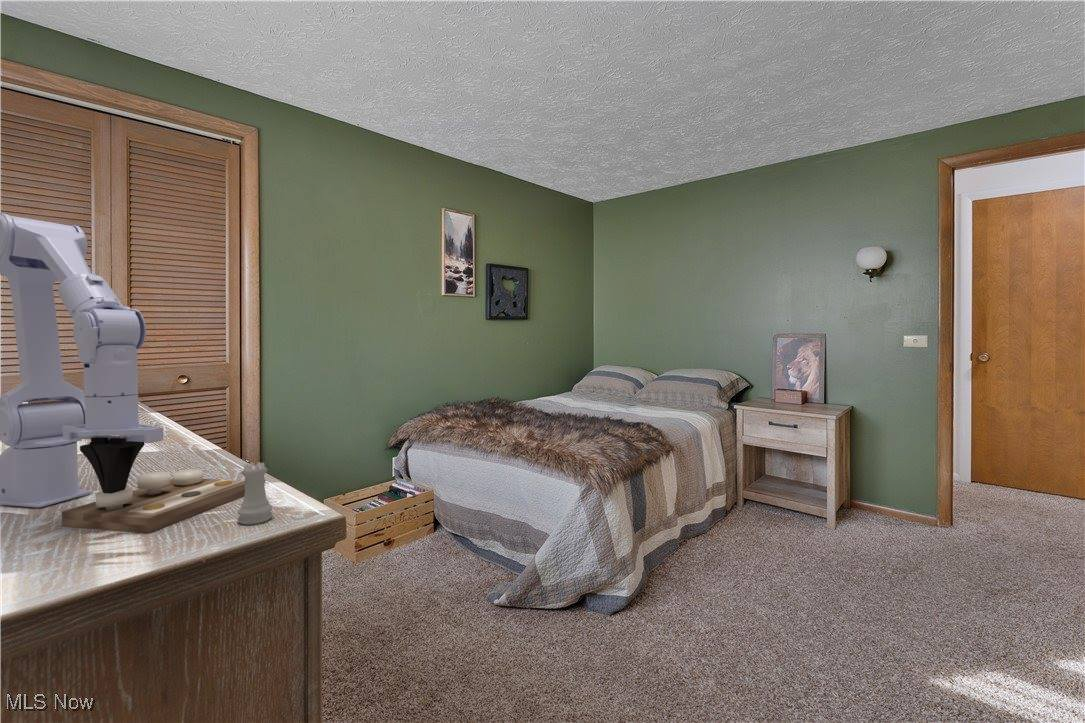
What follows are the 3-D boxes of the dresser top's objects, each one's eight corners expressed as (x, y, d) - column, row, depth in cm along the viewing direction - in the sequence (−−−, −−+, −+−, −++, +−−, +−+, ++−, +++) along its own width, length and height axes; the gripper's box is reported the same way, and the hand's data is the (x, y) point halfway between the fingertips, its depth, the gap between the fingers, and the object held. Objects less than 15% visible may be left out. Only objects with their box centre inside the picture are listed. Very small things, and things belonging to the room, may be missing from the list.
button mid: (130, 496, 75) (130, 477, 75) (155, 488, 79) (154, 470, 79) (153, 497, 75) (152, 478, 74) (177, 489, 78) (176, 472, 78)
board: (62, 525, 69) (61, 507, 69) (178, 488, 87) (178, 474, 87) (149, 533, 66) (148, 514, 66) (250, 493, 84) (250, 478, 84)
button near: (87, 514, 69) (87, 494, 69) (117, 505, 73) (116, 486, 73) (112, 516, 69) (111, 496, 69) (140, 507, 73) (139, 488, 72)
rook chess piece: (257, 527, 69) (256, 469, 69) (229, 524, 70) (228, 467, 70) (280, 516, 73) (279, 461, 73) (253, 513, 74) (252, 459, 74)
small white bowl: (167, 491, 81) (166, 474, 81) (188, 484, 85) (188, 468, 85) (188, 493, 80) (188, 475, 80) (209, 486, 84) (208, 469, 84)
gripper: (36, 396, 68) (39, 497, 68) (127, 399, 65) (130, 503, 66) (91, 392, 75) (94, 483, 75) (175, 394, 72) (178, 488, 73)
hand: (114, 491), depth 71 cm, fingers closed, pressing on button near
